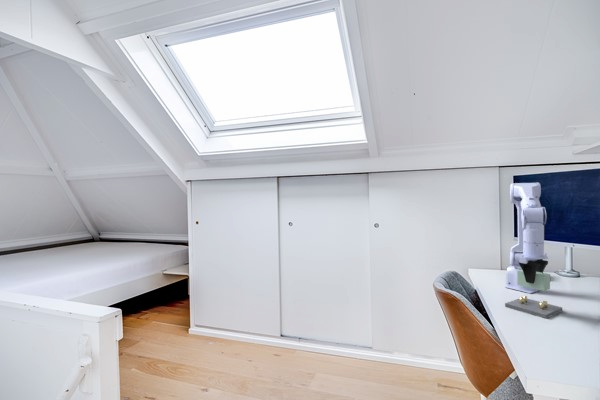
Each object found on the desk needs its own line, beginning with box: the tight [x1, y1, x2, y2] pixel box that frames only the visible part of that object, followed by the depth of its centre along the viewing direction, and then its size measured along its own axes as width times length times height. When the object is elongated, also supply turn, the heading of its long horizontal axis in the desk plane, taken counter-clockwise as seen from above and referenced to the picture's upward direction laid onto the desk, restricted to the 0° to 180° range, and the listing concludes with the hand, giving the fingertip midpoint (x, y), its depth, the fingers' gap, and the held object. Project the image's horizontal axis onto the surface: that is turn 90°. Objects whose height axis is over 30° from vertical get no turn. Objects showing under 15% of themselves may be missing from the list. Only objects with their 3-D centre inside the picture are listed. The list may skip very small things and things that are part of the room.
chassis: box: [504, 295, 563, 319], centre depth 106 cm, size 12×12×3 cm
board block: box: [517, 270, 551, 292], centre depth 106 cm, size 8×4×5 cm, turn 30°
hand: (533, 281), depth 106 cm, fingers closed on board block, 4 cm apart
